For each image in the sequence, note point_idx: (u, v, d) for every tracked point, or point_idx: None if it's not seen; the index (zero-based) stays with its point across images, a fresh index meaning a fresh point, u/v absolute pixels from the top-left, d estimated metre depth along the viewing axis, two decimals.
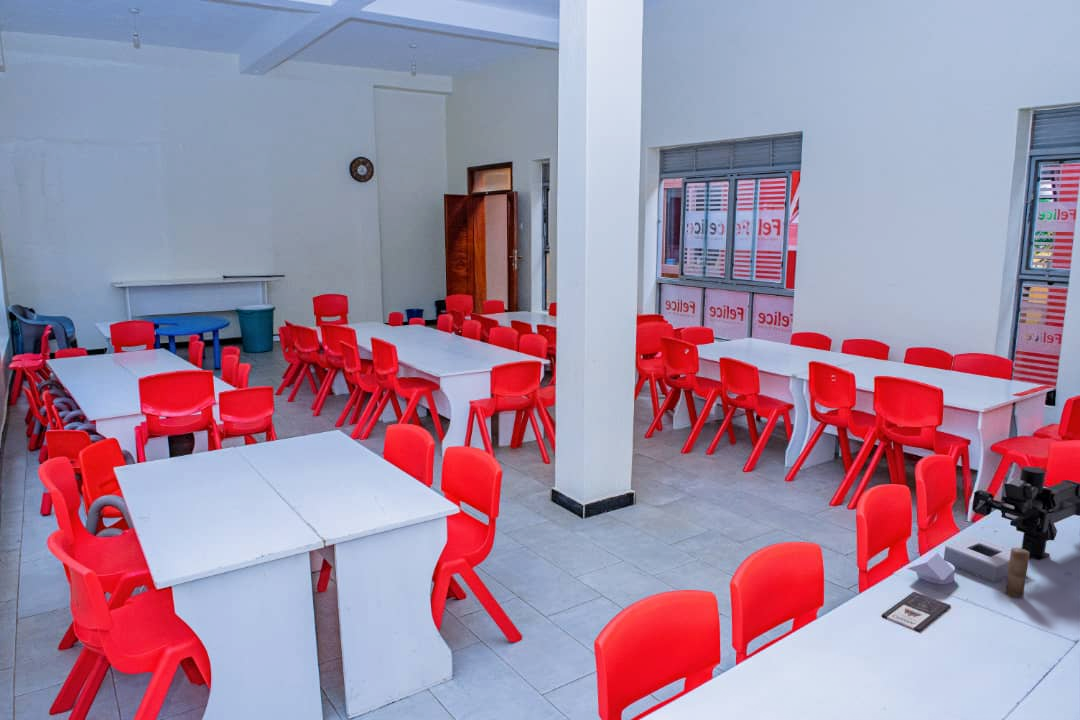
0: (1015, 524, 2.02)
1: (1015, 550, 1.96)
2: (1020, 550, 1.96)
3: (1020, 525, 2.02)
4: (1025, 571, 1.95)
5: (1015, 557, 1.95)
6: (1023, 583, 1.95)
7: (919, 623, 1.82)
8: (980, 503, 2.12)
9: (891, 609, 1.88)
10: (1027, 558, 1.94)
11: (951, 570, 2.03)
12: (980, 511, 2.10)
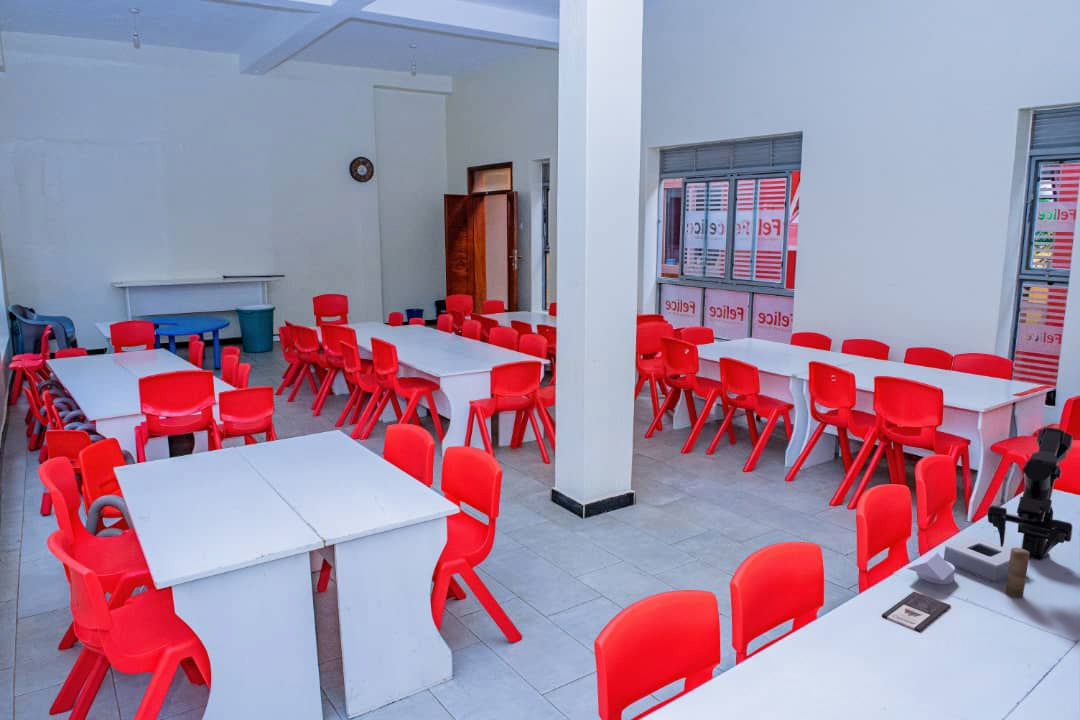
0: (1046, 553, 1.96)
1: (1015, 550, 1.96)
2: (1020, 550, 1.96)
3: (1050, 549, 1.97)
4: (1025, 571, 1.95)
5: (1015, 557, 1.95)
6: (1023, 583, 1.95)
7: (919, 623, 1.82)
8: (1000, 530, 2.03)
9: (891, 609, 1.88)
10: (1027, 558, 1.94)
11: (951, 570, 2.03)
12: (1003, 539, 2.03)
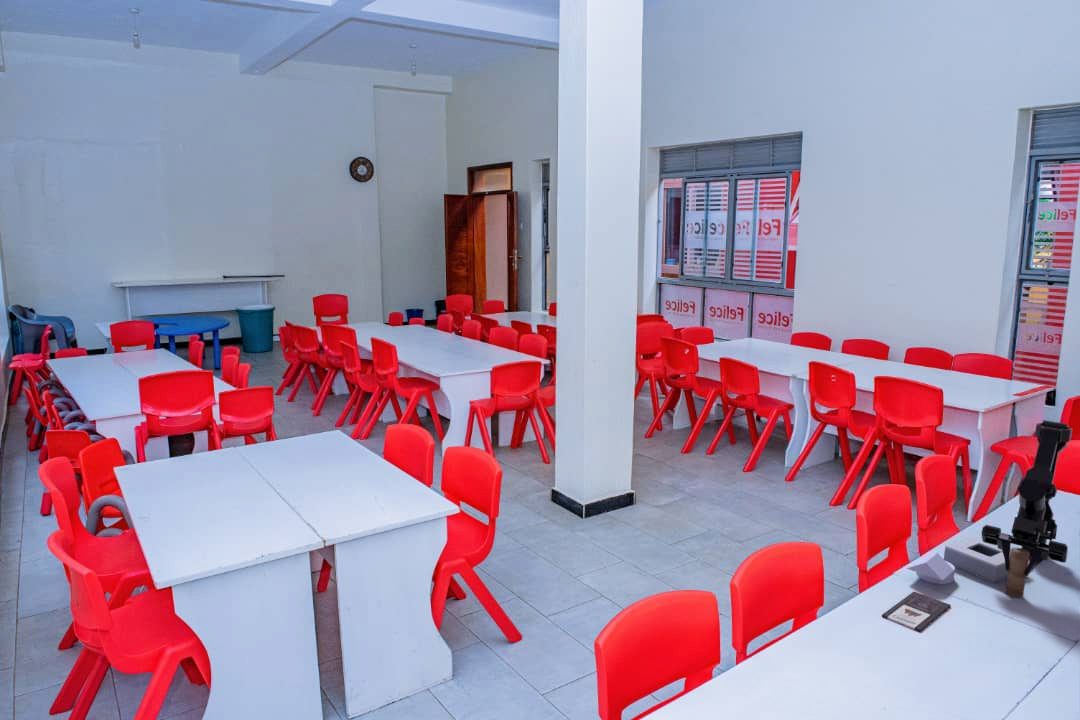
0: (1030, 572, 1.94)
1: (1015, 550, 1.96)
2: (1020, 550, 1.96)
3: (1033, 567, 1.95)
4: (1025, 571, 1.95)
5: (1015, 557, 1.95)
6: (1023, 583, 1.95)
7: (919, 623, 1.82)
8: (1005, 553, 1.98)
9: (891, 609, 1.88)
10: (1027, 558, 1.94)
11: (951, 570, 2.03)
12: None
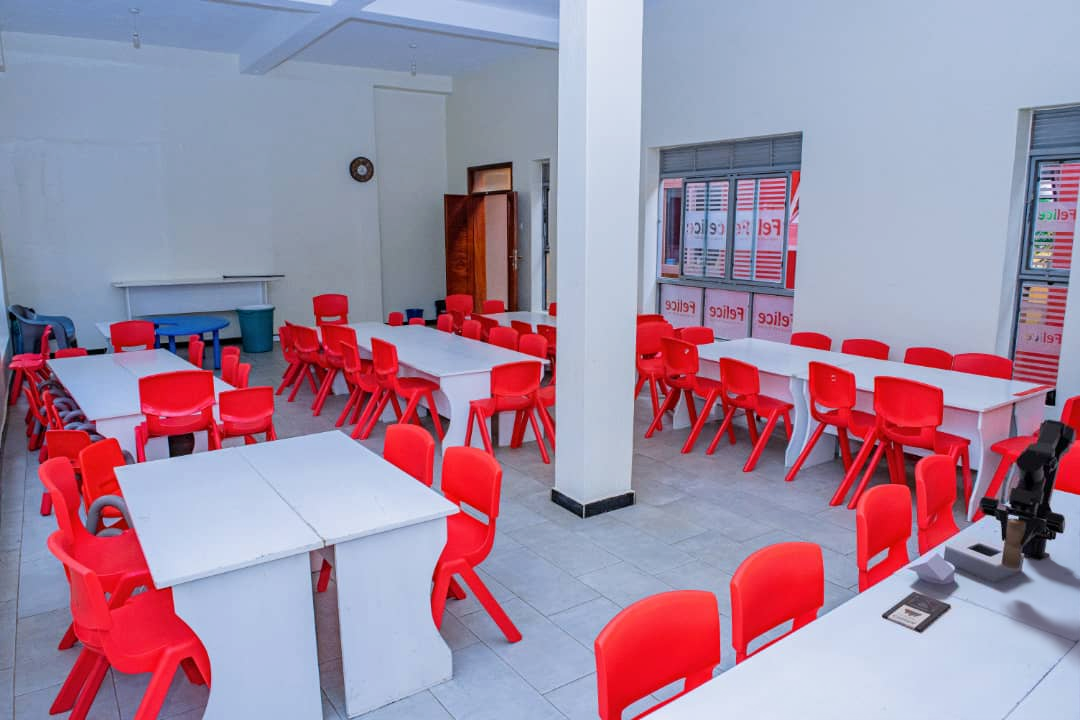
0: (1026, 542, 1.95)
1: (1012, 520, 1.97)
2: (1016, 520, 1.97)
3: (1030, 538, 1.96)
4: (1021, 541, 1.96)
5: (1011, 527, 1.96)
6: (1019, 553, 1.96)
7: (920, 623, 1.82)
8: (1002, 524, 1.99)
9: (891, 609, 1.88)
10: (1023, 528, 1.95)
11: (951, 570, 2.03)
12: (1005, 533, 1.99)
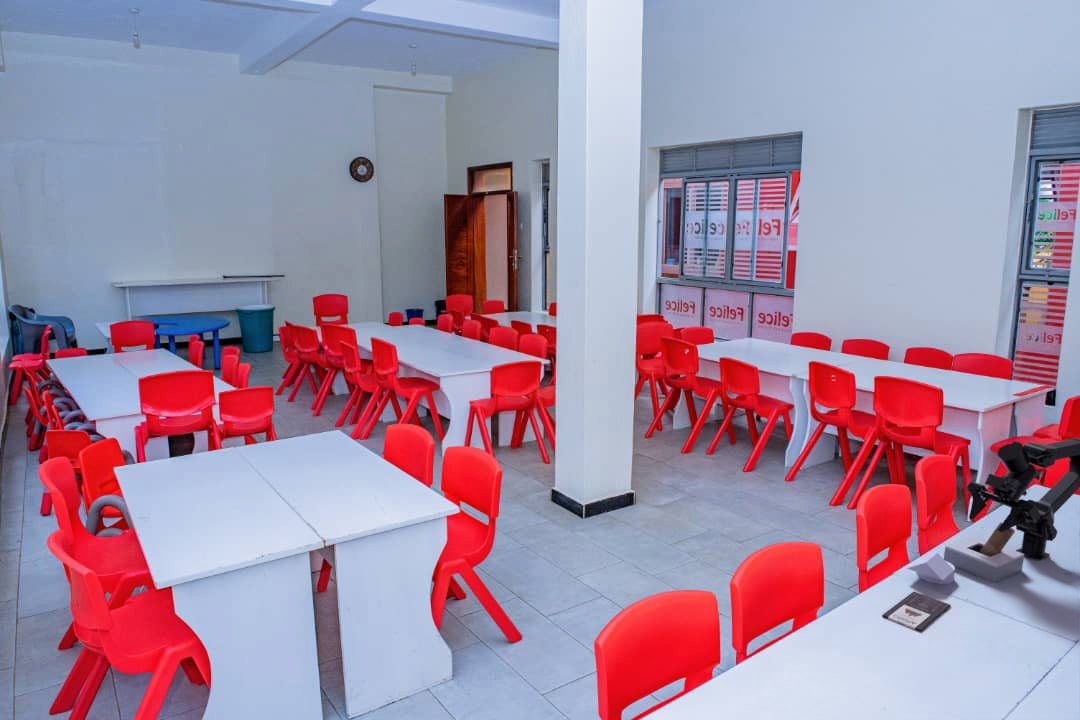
0: (1004, 528, 2.06)
1: None
2: None
3: (1010, 525, 2.06)
4: (1001, 544, 2.09)
5: None
6: (994, 554, 2.10)
7: (920, 623, 1.82)
8: (973, 504, 2.15)
9: (892, 609, 1.88)
10: (1009, 534, 2.08)
11: (951, 570, 2.03)
12: (975, 513, 2.15)
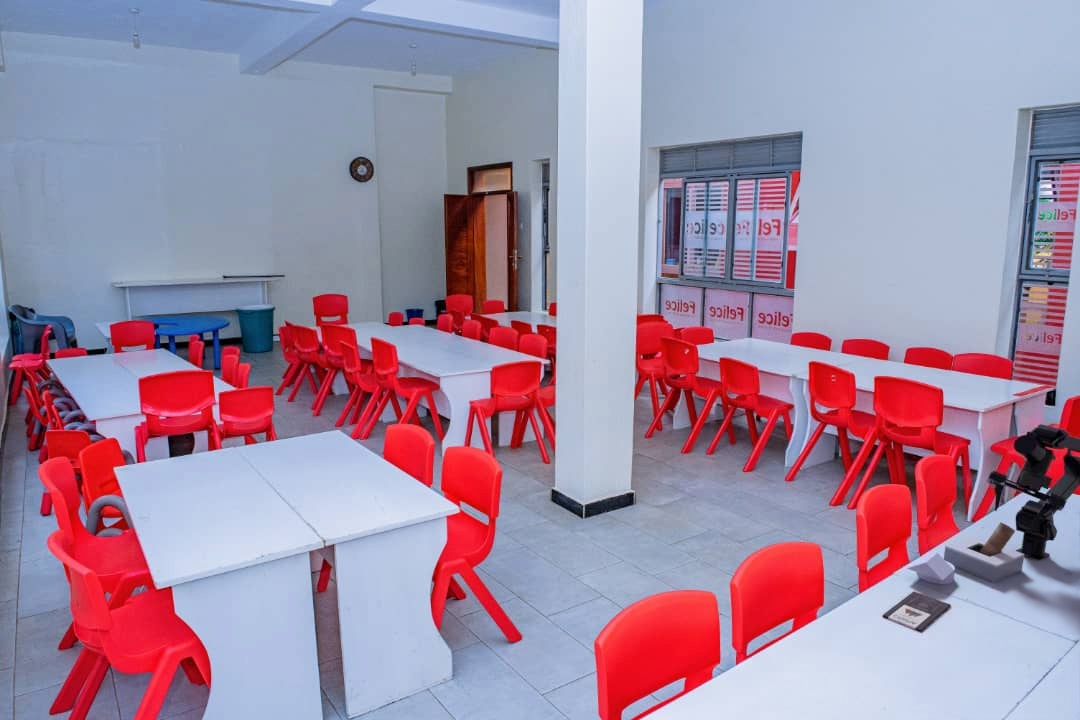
0: (1036, 522, 2.10)
1: (1003, 524, 2.10)
2: (1008, 527, 2.10)
3: None
4: (1001, 544, 2.09)
5: (999, 528, 2.10)
6: (994, 554, 2.10)
7: (920, 623, 1.82)
8: (997, 496, 2.14)
9: (892, 609, 1.88)
10: (1009, 534, 2.08)
11: (951, 570, 2.03)
12: (998, 503, 2.15)
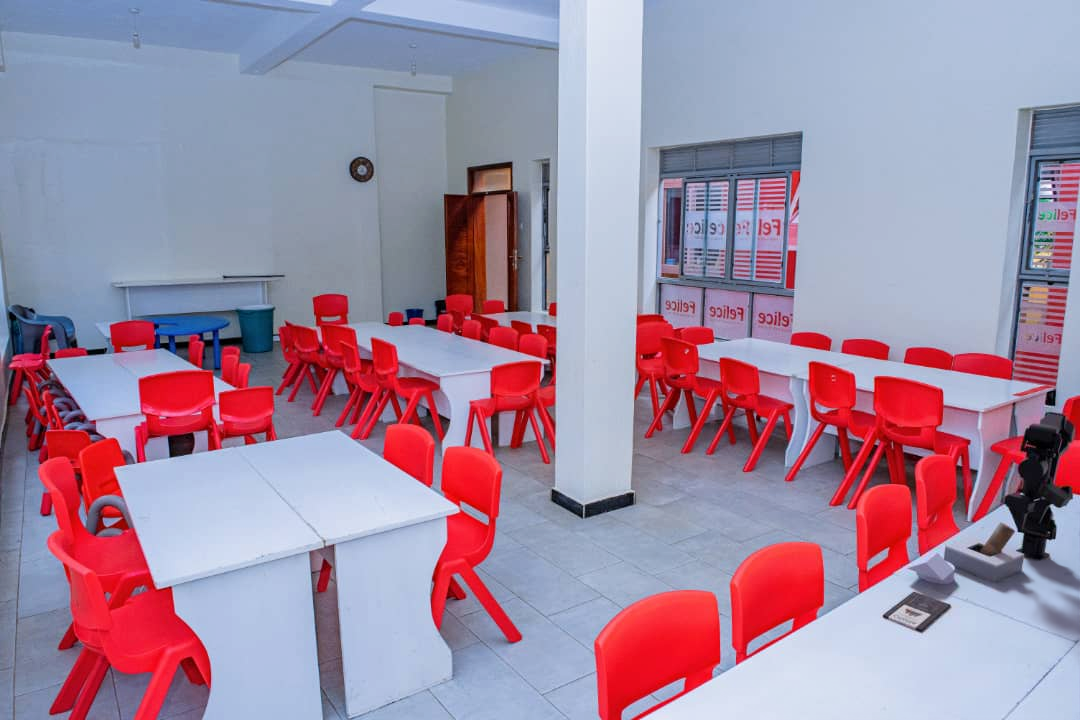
0: None
1: (1003, 524, 2.10)
2: (1008, 527, 2.10)
3: None
4: (1001, 544, 2.09)
5: (999, 528, 2.10)
6: (994, 554, 2.10)
7: (920, 623, 1.82)
8: (1024, 519, 2.04)
9: (892, 609, 1.88)
10: (1009, 534, 2.08)
11: (951, 570, 2.03)
12: None
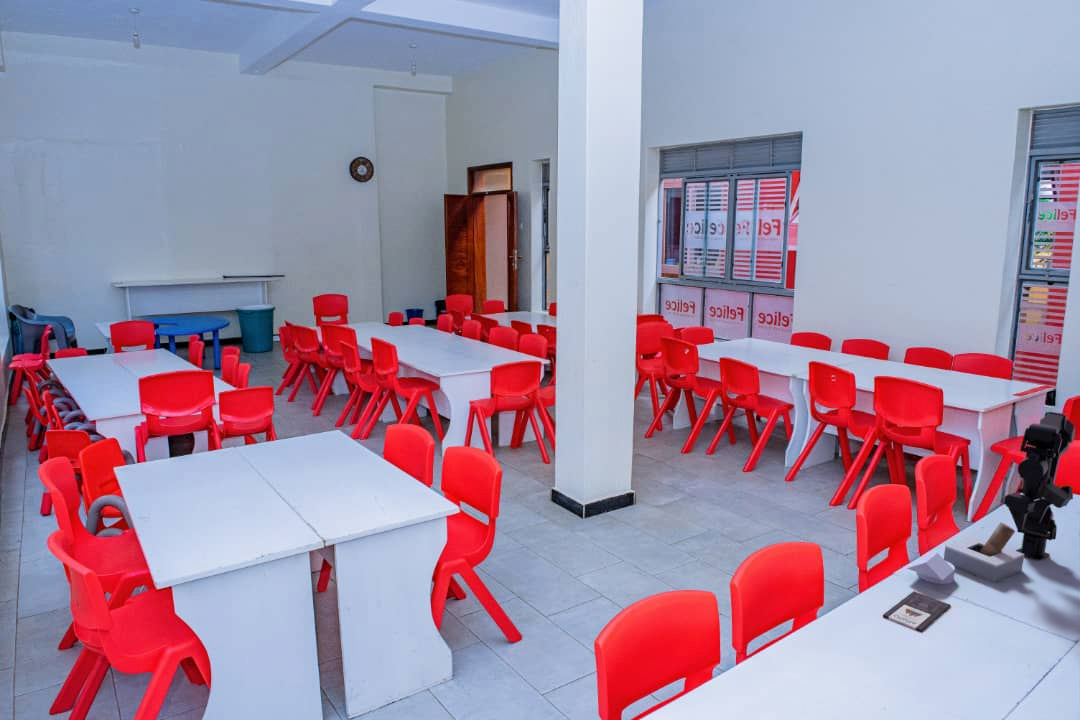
0: None
1: (1003, 524, 2.10)
2: (1008, 527, 2.10)
3: None
4: (1001, 544, 2.09)
5: (999, 528, 2.10)
6: (994, 554, 2.10)
7: (920, 623, 1.82)
8: (1024, 519, 2.04)
9: (892, 609, 1.88)
10: (1009, 534, 2.08)
11: (951, 570, 2.03)
12: None
